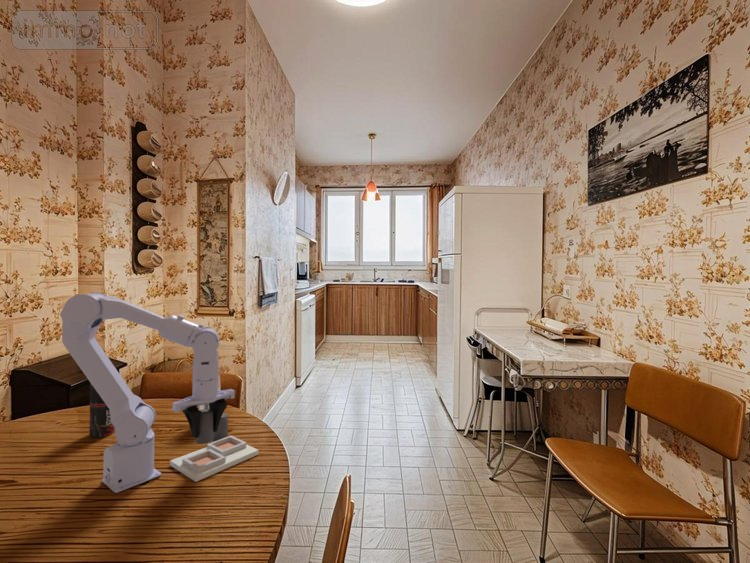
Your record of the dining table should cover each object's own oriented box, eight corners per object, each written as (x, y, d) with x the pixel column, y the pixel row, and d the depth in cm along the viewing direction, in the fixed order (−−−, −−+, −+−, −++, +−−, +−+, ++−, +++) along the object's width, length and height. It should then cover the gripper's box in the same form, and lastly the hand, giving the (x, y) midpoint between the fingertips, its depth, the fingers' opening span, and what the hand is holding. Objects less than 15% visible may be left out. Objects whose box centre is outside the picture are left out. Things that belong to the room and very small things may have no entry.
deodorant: (104, 438, 106) (105, 385, 106) (83, 437, 107) (84, 385, 106) (119, 430, 112) (120, 380, 112) (99, 429, 112) (100, 379, 112)
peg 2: (217, 444, 104) (218, 419, 104) (209, 440, 107) (210, 416, 107) (230, 439, 108) (231, 415, 107) (222, 436, 110) (223, 412, 110)
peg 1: (199, 445, 89) (199, 415, 89) (192, 440, 92) (192, 411, 92) (216, 439, 92) (216, 411, 92) (208, 435, 95) (208, 407, 95)
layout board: (195, 482, 85) (195, 471, 85) (170, 465, 93) (170, 455, 93) (258, 454, 99) (258, 445, 99) (232, 441, 106) (232, 433, 106)
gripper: (225, 370, 100) (224, 420, 100) (167, 380, 88) (166, 438, 89) (239, 374, 95) (238, 428, 95) (180, 387, 84) (179, 447, 84)
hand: (204, 433), depth 92 cm, fingers closed on peg 1, 4 cm apart
